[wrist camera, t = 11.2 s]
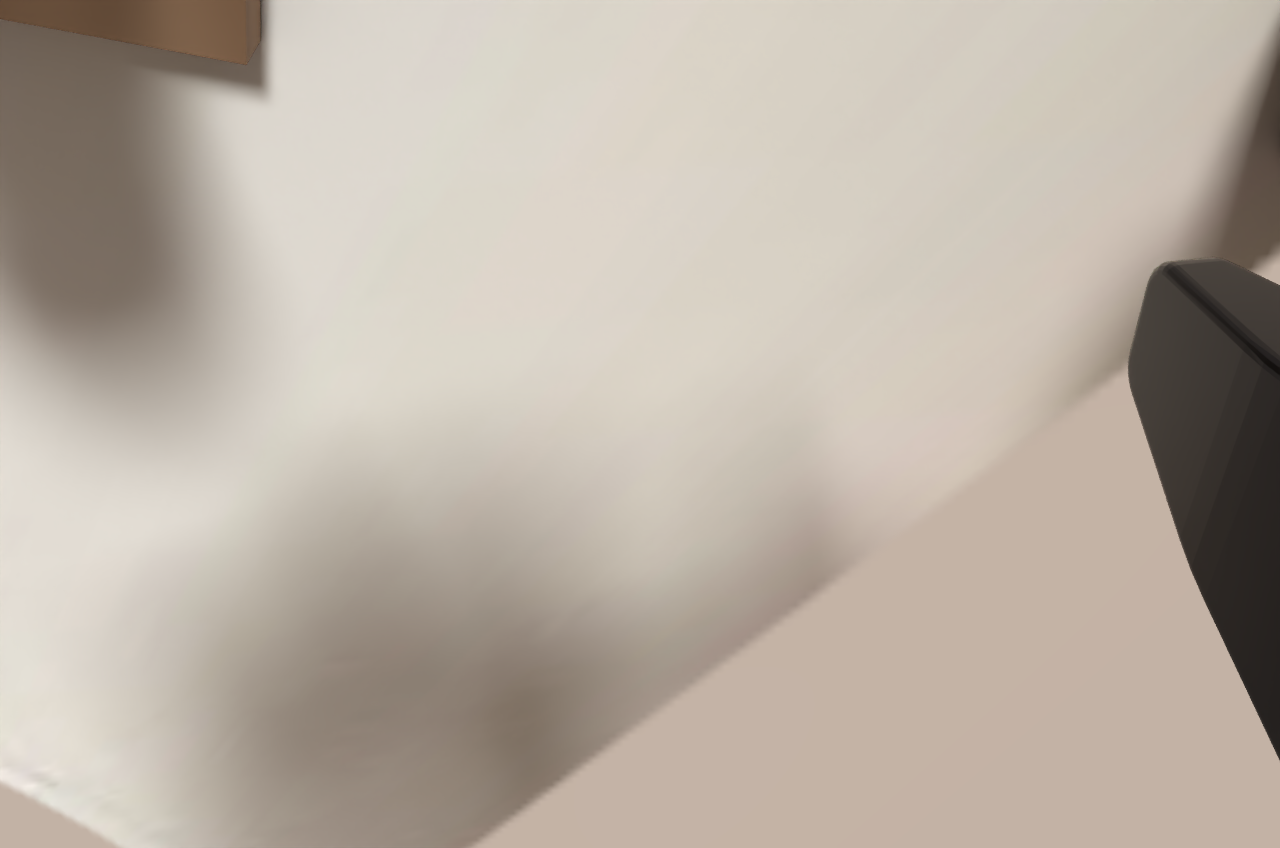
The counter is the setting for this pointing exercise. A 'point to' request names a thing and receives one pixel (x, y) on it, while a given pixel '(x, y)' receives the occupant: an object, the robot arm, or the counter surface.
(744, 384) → the counter surface
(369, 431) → the counter surface
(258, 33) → the pin board
